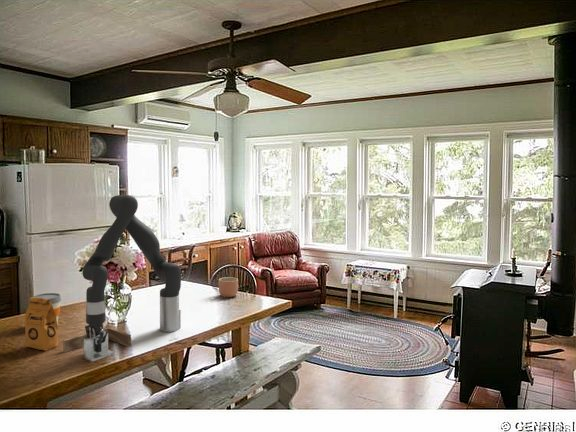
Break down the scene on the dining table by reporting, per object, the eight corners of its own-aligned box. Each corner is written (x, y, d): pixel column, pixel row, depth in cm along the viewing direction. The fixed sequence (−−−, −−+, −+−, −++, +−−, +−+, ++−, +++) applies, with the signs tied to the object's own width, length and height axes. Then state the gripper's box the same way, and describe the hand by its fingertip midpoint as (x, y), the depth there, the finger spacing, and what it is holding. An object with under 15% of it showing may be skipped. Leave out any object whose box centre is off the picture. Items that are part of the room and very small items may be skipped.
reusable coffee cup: (27, 327, 220) (26, 297, 218) (48, 320, 231) (47, 291, 230) (46, 331, 215) (45, 300, 214) (67, 323, 227) (66, 294, 226)
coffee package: (42, 353, 189) (41, 302, 187) (22, 348, 193) (20, 299, 191) (62, 345, 198) (61, 297, 196) (42, 341, 202) (41, 293, 201)
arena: (109, 337, 209) (109, 326, 208) (130, 345, 199) (130, 334, 199) (63, 351, 191) (62, 340, 191) (83, 361, 181) (83, 349, 181)
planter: (221, 293, 293) (221, 276, 292) (240, 294, 291) (240, 277, 290) (216, 298, 280) (216, 281, 279) (235, 299, 279) (235, 282, 278)
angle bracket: (106, 350, 193) (105, 332, 192) (114, 354, 189) (113, 336, 189) (84, 358, 185) (83, 339, 184) (92, 361, 181) (91, 342, 181)
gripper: (113, 312, 186) (113, 352, 187) (94, 306, 194) (95, 344, 195) (96, 316, 180) (97, 358, 181) (78, 310, 188) (79, 349, 189)
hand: (96, 350), depth 188 cm, fingers open, 3 cm apart
